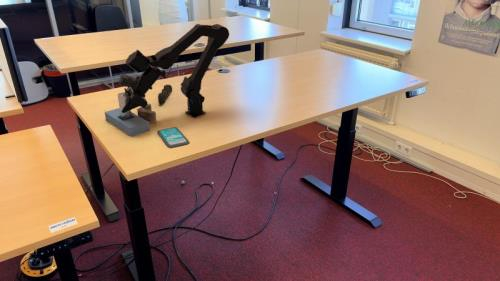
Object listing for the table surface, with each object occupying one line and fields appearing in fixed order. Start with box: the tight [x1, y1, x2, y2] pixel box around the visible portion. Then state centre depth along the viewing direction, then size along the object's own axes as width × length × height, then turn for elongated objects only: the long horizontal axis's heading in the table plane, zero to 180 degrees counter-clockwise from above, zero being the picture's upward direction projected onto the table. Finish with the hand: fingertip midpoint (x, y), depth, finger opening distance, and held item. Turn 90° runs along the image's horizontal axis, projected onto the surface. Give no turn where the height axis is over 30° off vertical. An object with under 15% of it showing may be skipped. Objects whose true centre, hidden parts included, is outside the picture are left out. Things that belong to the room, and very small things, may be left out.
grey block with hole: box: [104, 107, 151, 137], centre depth 150 cm, size 20×8×4 cm, turn 45°
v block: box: [136, 103, 157, 123], centre depth 156 cm, size 6×11×4 cm, turn 25°
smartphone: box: [156, 126, 190, 149], centre depth 142 cm, size 9×1×15 cm
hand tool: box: [157, 84, 173, 107], centre depth 175 cm, size 19×4×5 cm, turn 177°
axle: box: [117, 91, 132, 121], centre depth 147 cm, size 4×4×13 cm
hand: (121, 110), depth 147 cm, fingers closed on axle, 4 cm apart
